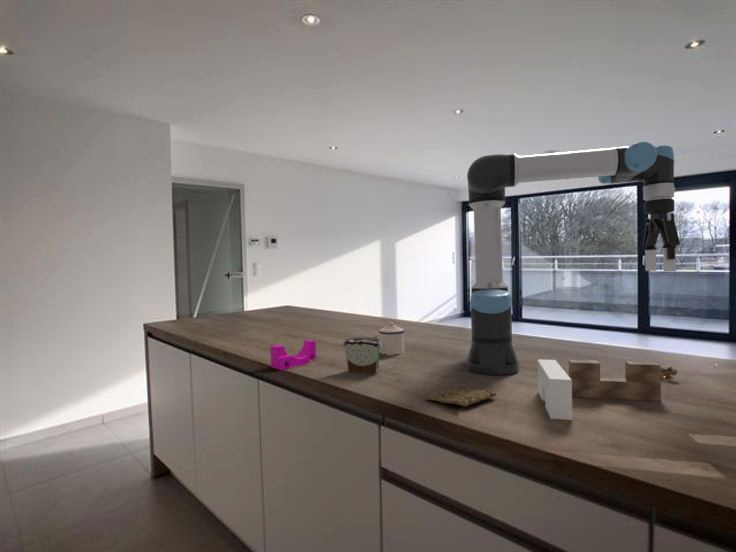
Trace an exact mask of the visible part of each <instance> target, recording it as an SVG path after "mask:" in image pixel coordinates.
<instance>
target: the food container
mask: <svg viewBox="0 0 736 552" xmlns="http://www.w3.org/2000/svg"><path fill="white" fill-rule="evenodd" d="M343 340H344V341H343V344H342V346H343V347H344V350H345V357H346V366H347V371H348V372H352V371H357V372H356V373H361V372H365V373H364V374H370V373H372V375H378V372H379V361H380V348H381V347H382V345H381V341H380V338H379V337H376V338H374V336H373V337H372V336H357V337H349V338H345V339H343Z"/></svg>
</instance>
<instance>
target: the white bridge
mask: <svg viewBox="0 0 736 552" xmlns="http://www.w3.org/2000/svg"><path fill="white" fill-rule="evenodd" d="M537 393H538V395H539V397H540V399H541V401H543V402H545V410H546V412H547V415H548V416H549V419H551V420H566V421H573V397H572V380H571V379H570V377H569V374H568V373H567V372H566V371H565V370H564V369H563V367H562V366H561V365H560V364H559V362H558V361H557V360H556V359H537Z"/></svg>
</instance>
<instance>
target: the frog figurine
mask: <svg viewBox="0 0 736 552" xmlns="http://www.w3.org/2000/svg"><path fill="white" fill-rule="evenodd" d="M660 368H661V383H669V379H670V380H673V379H674V376H677V374H678V370H677V369H675V368H673V366H669V367H664V366H660ZM665 376H666V377H665Z"/></svg>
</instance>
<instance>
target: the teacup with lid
mask: <svg viewBox="0 0 736 552" xmlns="http://www.w3.org/2000/svg"><path fill="white" fill-rule="evenodd" d="M387 323H388V324H387V325H385V326H384V327H382V328H379V329H378V333H376V334H375V335H374V336H373V337H374V338H378V337H379V339H380V341H381V345H382V347H381V348H380V349H379V354H380V353H382V354H381V355H383V354H387V355H386V356H396V355H395V354H401V353H403V354H404V353H405V341H404V340H405V339H404V337H405V336H404V333H405V330H404V328H402V327H399V326H397V325H395V323H394V322H391V321H390V322H387ZM401 355H402V354H401Z"/></svg>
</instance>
